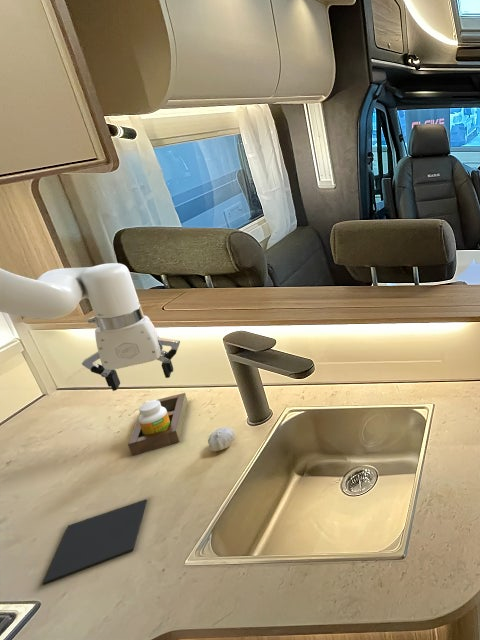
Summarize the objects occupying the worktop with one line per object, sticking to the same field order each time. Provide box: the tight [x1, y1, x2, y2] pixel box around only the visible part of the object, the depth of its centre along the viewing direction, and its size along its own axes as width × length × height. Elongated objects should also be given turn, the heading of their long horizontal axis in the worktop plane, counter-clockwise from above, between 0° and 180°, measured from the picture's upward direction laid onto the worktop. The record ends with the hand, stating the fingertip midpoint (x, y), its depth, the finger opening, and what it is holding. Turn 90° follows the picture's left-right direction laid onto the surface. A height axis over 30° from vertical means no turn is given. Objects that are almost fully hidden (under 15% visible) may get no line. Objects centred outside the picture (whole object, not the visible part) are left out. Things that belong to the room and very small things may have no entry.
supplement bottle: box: [137, 399, 171, 436], centre depth 102 cm, size 5×5×10 cm
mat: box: [42, 498, 148, 585], centre depth 79 cm, size 12×12×1 cm
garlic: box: [207, 426, 236, 452], centre depth 101 cm, size 6×5×5 cm
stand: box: [128, 392, 189, 456], centre depth 106 cm, size 9×16×4 cm, turn 30°
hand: (143, 380), depth 98 cm, fingers open, 9 cm apart
